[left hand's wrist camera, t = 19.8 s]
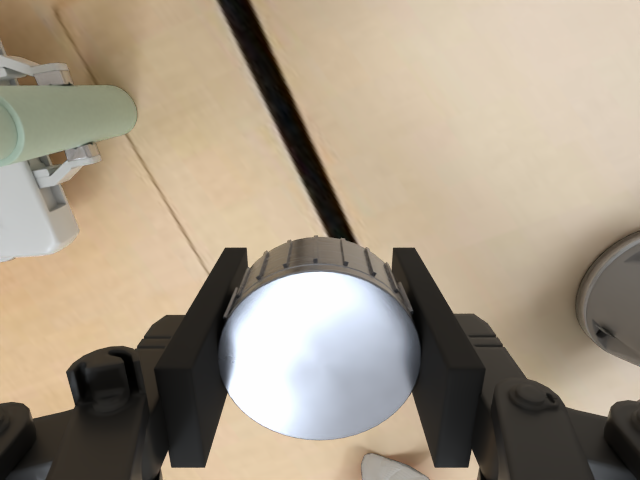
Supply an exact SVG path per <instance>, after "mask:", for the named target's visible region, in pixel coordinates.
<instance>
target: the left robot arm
mask: <svg viewBox="0 0 640 480" xmlns="http://www.w3.org/2000/svg"><path fill="white" fill-rule="evenodd" d="M247 267H248V261H247V248H225V249H224V251H223V252H222V254H221V256H220V257H219V259H218V261H217V263H216V264H215V266H214V268H213V269H212V271H211V273H210V274H209V276H208V278H207V279H206V281H205V283H204V285H203V286H202V288H201V290H200V291H199V293H198V295H197V296H196V298H195V300H194V301H193V303H192V305H191V307H190V308H189V310H188V312H187V313H186V315H166V316H164V317H163V318H161V319H160V320H159V321H157V322H156V323H154V324H153V325H152V326H151V327H150V329H149V330H148V332H147V333H146V334H145V336H144V339H142V340H141V342H140V343H139V344H138V346H137V349H135V350H134V349H133V348H129V347H125V346H114V347H107V348H103V349H99V350H96V351H93V352H91V353H89V354H86V355H84V356H83V357H81V358H80V359H78V360H77V361H75V362H74V363H73V364H72V365H71V366H70V368H69V369H68V370H67V371H66V373H67V377H68V381H69V384H70V388H71V392H72V395H73V399H74V403H75V408H74V409H72V410H68V411H65V412H61V413H56V414H52V415H47V416H43V417H39V418H34V419H32V416H31V413H30V409H29V408H28V407H27V406H25V405H24V404H22V403H15V402H9V403H2V404H0V480H163V478H162V472H161V466H162V463H163V461H164V459H165V456H166V454H167V452H168V451H169V457H170V462H171V468H205V466H206V462H207V459H208V456H209V452H210V449H211V446H212V442H213V439H214V436H215V433H216V429H217V426H218V423H219V419H220V416H221V413H222V409H223V406H224V403H225V399H226V396H227V393H228V392H227V390H226V389H225V387H224V385H223V382H222V379H221V377H220V370H219V361H218V351H217V347H218V340H219V336H220V333H221V329H222V327H223V324H224V322H225V320H222V319H223V316H224V314H225V311H226V309H227V306H228V304H229V302H230V299H231V297H232V295H233V292H234V290H235V287H237V288H239V285H240V283H241V280H242V278H243V275H244V273H245V271H246V269H247ZM392 273H393V274H394V276H395V277H396V279H397V281H398V283H399V282H401V283H402V285H403V287H404V290H405V292H406V295H407V297H408V299H409V302H410V304H411V306H412V309H413V311H414V314H412V317H413V319H414V322H415V324H416V327H417V330H418V333H419V336H420V340H421V347H422V357H421V366H420V373H419V376H418V379H417V382H416V385H415V387H414V388H413V390H412V394H413V397H414V400H415V404H416V407H417V410H418V413H419V417H420V420H421V423H422V427H423V430H424V433H425V437H426V440H427V443H428V447H429V450H430V453H431V456H432V460H433V463H434V466H435V468H468V466H469V461H470V455H471V450H473V453H474V455H475V457H476V460H477V462H478V464H479V472H478V477H477V480H640V399H639V400H638V401H630V400H627V401H620V402H616V403H615V404H614V405H613V406H612V407H611V408H610V412H609V415H608V417H605V416H600V415H596V414H591V413H587V412H582V411H578V410H574V409H571V408H567V407H565V405H564V403H563V402H562V400H561V399H560V397H559V396H558V395H557V394H556V393H554V392H553V391H552V390H551V389H549V388H548V387H546V386H544V385H542V384H540V383H538V382H536V381H532V380H529V379H527V378H526V377H525V375H524V374H523V373H522V371H521V370H520V368H519V367H518V365H517V364H516V363H515V361H514V360H513V358H512V357H511V356H510V354H509V353H508V351H507V350H506V349H505V347H503V344H502V343H501V342H500V340H499V339H498V337H496V335H495V333H494V332H493V330H492V329H491V328H490V326H489V325H488V323H486V322H485V321H483V320H482V319H480V318H479V317H477V316H476V315H475V314H453V312H452V310H451V309H450V307H449V305H448V304H447V302H446V300H445V298H444V297H443V295H442V293H441V292H440V290H439V288H438V287H437V285H436V283H435V282H434V280H433V278H432V276H431V275H430V273H429V271H428V270H427V268H426V266H425V265H424V263H423V261H422V260H421V258H420V256H419V254H418V253H417V251H416V249H415V248H393V258H392ZM576 314H577V318H578V321H579V324H580V326H581V328H582V329H583V331H584V332H585V333H586V334H587V335H588V336H589V337H590V338H591V339H592V340H593V341H594V342H595V343H596V344H597V345H598V346H599V347H601V348H602V349H603V350H605V351H606V352H608V353H610V354H612V355H614V356H617V357H619V358H621V359H623V360H626V361H628V362H630V363H633V364H635V365H637V366H640V231H639V232H636V233H634V234H631V235H629V236H627V237H625V238H623V239H622V240H620V241H618V242H617V243H615V244H614V245H612V246H611V247H610V248H608V249H607V250H606V251H605V252H604V253H602V254H601V255H600V256H599V257H598V258H597V259H596V260H595V262H594V263H593V264H592V265H591V267H590V268H589V269H588V271H587V272H586V274H585V276H584V278H583V280H582V282H581V284H580V287H579V290H578V293H577V298H576Z"/></svg>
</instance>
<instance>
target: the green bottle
mask: <svg viewBox="0 0 640 480" xmlns="http://www.w3.org/2000/svg"><path fill="white" fill-rule="evenodd" d="M136 120H137V110H136V106H135V104H134V102H133V100H132V98H131V97H130V96H129V95H128V94H127V93H126V92H125V91H124V90H122V89H120V88H118V87H116V86H112V85H34V86H0V167H2V166H7V165H11V164H14V163H18V162H22V161H26V160H30V159H33V158H37V157H41V156H45V155H49V154H52V153H56V152H60V151H64V150H68V149H71V148H75V147H79V146H82V145H86V144H90V143H94V142H98V141H102V140H106V139H109V138H113V137H117V136H121V135H124V134H126V133H128V132H129V131H131V130H132V129H133V127H134V125H135V123H136Z"/></svg>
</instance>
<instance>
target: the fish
mask: <svg viewBox="0 0 640 480" xmlns="http://www.w3.org/2000/svg"><path fill="white" fill-rule="evenodd" d="M361 473H362V480H429V478H428V477H427V476H425V475H423V474H422V473H420V472H419V471H417V470H415V469H414V468H412V467H410V466H409V465H406V464H403V463H400V462H398V461H395V460H392V459H389V458H386V457H383V456H380V455H378V454H373V453H370V454H366V455H364V458H363V460H362V463H361Z"/></svg>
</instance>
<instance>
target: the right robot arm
mask: <svg viewBox="0 0 640 480" xmlns="http://www.w3.org/2000/svg"><path fill="white" fill-rule="evenodd" d="M27 75H30V76H33V77H35V79H36V82H37V84H38V85H74V83H73V80H72V78H71V75H70V72H69V69H68V66H67V64H66V63H49V64H44V65H41V64H38V63H35V62H33V61H30V60H27V59H25V58H22V57H18V56H7V54H6V52H5V49H4V47H3V44H2V42H1V40H0V86H20V85H19V83H18V80H17V78H22V77H26V76H27ZM64 151H65V154H66V157H67V159H68V160H66V161H65V162H64V163H63V164H57V165H53V164H52V162H51V160H50V157H49V155H45V156H41V157H37V158H33V159H30V160H26V161H22V162H18V163H14V164H11V165H7V166H2V167H0V262H5V261H11V260H13V259H15V258H16V257H33V256H43V255H50V254H53V253H56V252H58V251H60V250H62V249H63V248H65V247H67V246H68V245H70V244H71V243H72V242H73V241H74V239H75V238H76V237H77V235H78V234H79V227H78V224H77V222H76V219H75V217H74V215H73V212H72V210H71V207H70V205H69V203H68V200H67V198H66V195H65V193H64V191H63V188H62V186H61V184H60V183H63V182H66V181H68V180H70V179H71V178H72V177H73V176H74V175H75V174H76V173H77V172H78V171H79V170H80V169H81V168H82V167H83V166H84V165H89V164H93V163H97V162H99V161H102V159H101V156H100V153H99V151H98V148H97V145H96V142H94V143H90V144H86V145H82V146H79V147H75V148H71V149H68V150H64Z"/></svg>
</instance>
